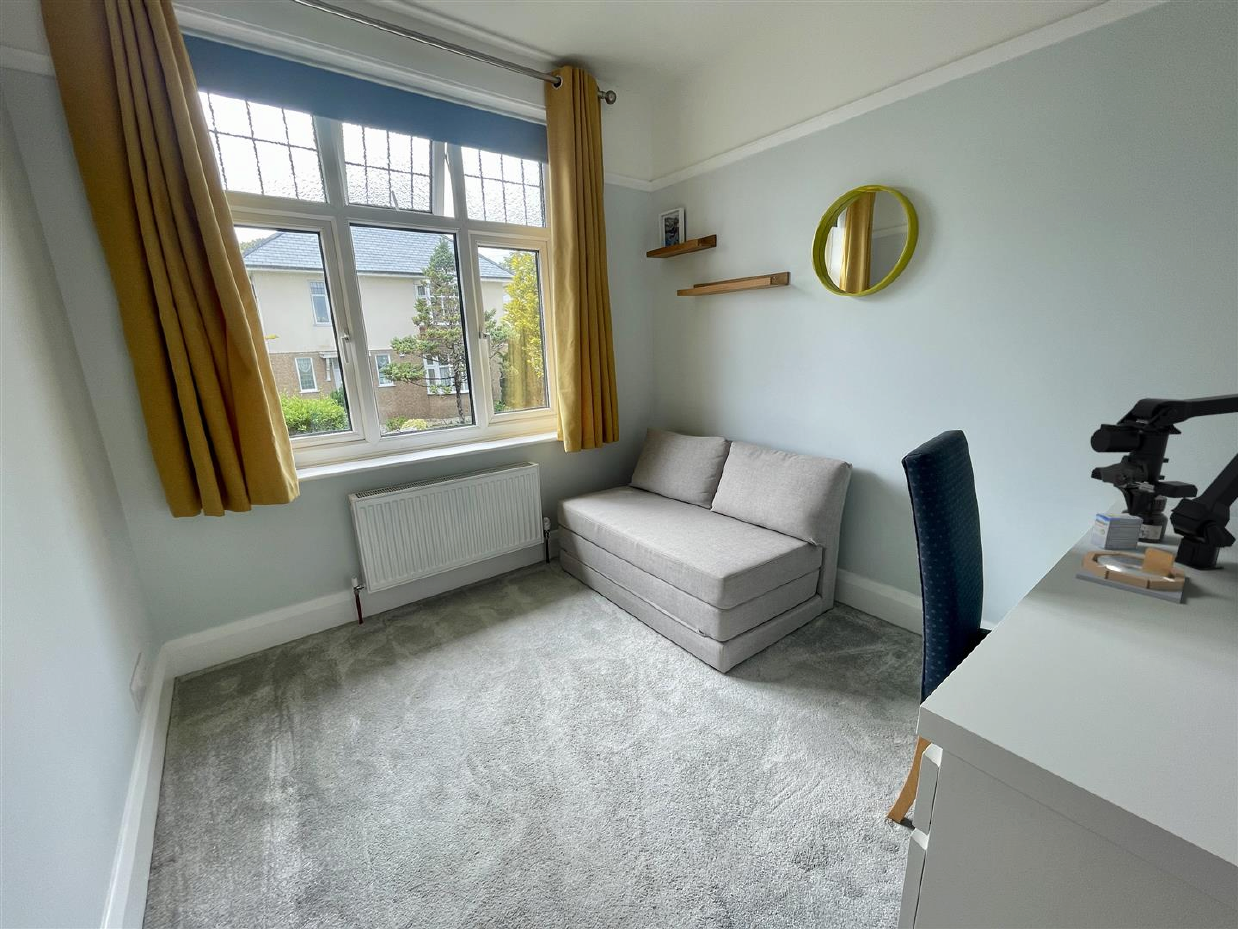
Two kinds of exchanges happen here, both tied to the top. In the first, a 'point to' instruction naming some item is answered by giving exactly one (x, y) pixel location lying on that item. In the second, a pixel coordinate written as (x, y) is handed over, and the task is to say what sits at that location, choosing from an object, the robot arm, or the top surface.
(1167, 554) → the dial
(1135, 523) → the medicine box
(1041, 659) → the top surface
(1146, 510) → the ink bottle
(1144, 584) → the dial plate
